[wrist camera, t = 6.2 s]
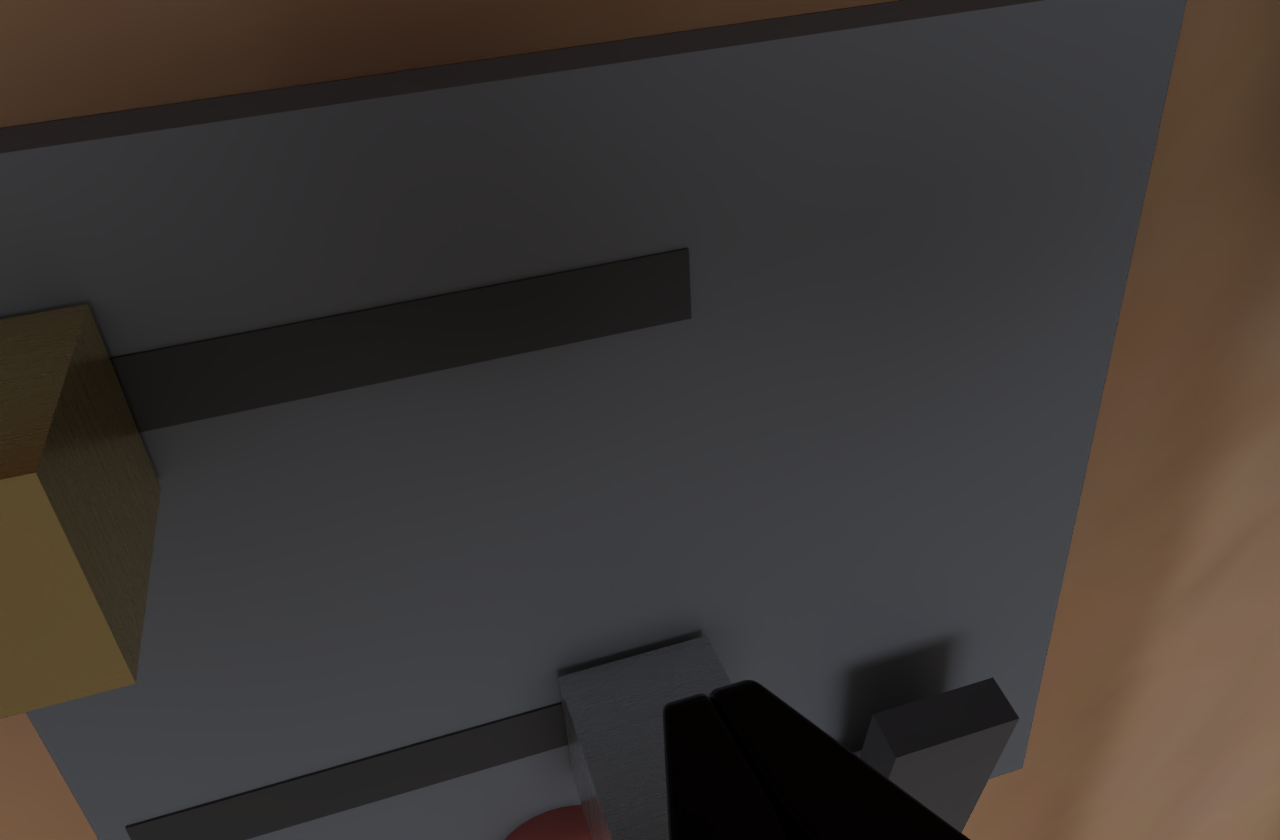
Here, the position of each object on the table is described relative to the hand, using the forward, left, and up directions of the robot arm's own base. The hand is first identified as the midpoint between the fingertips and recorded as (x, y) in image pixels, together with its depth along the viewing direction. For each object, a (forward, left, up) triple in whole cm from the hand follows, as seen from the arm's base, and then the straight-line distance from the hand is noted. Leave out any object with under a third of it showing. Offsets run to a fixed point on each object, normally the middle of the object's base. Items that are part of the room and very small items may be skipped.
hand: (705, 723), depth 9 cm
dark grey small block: (-7, +12, -8) cm, 17 cm away
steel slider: (-1, +9, -8) cm, 12 cm away
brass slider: (+7, 0, -8) cm, 11 cm away
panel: (-1, +6, -9) cm, 11 cm away
